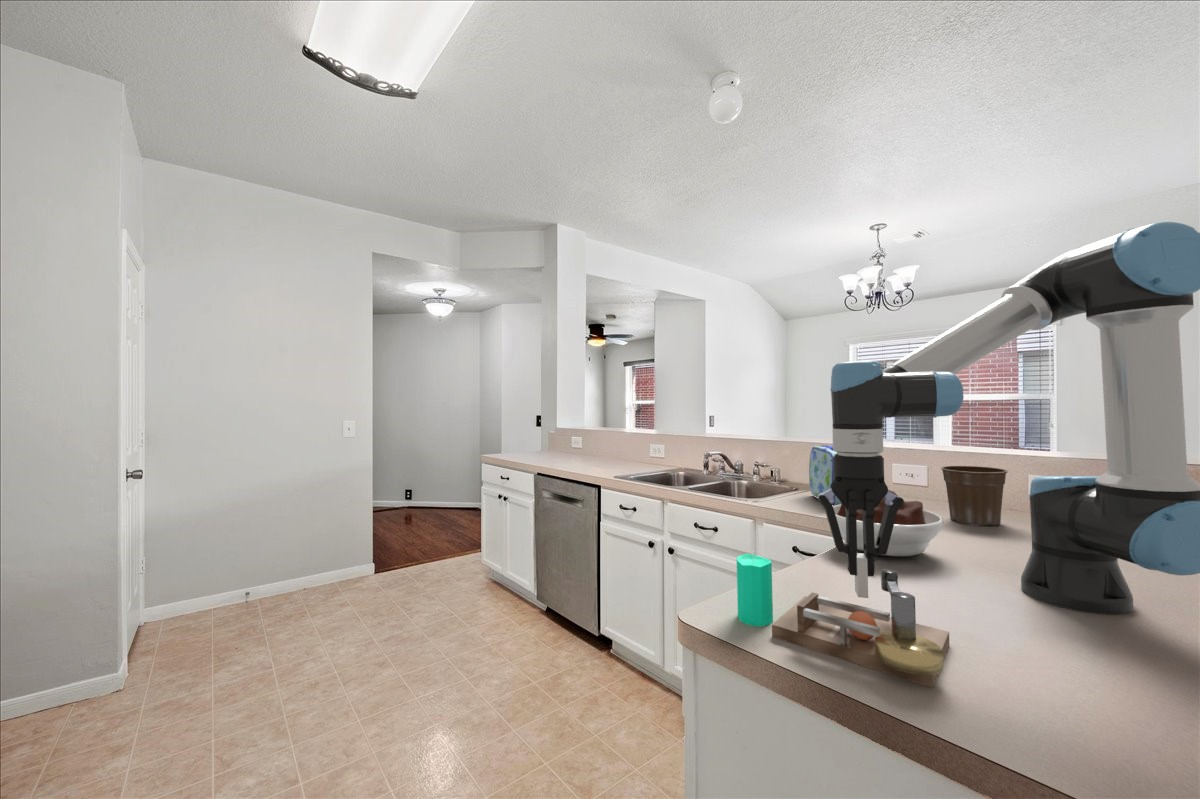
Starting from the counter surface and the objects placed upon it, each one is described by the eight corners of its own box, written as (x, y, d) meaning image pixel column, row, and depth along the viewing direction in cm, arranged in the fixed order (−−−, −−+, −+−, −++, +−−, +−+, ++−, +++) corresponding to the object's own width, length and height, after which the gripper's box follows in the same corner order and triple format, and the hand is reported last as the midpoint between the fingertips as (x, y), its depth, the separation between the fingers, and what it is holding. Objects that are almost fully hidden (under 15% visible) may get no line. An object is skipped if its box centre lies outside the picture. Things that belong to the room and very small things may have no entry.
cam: (958, 628, 76) (957, 579, 76) (938, 682, 62) (936, 622, 62) (884, 610, 83) (882, 565, 83) (850, 655, 69) (849, 601, 69)
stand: (949, 644, 76) (948, 606, 76) (932, 687, 65) (931, 642, 65) (805, 606, 91) (804, 574, 91) (772, 636, 80) (771, 600, 80)
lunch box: (864, 509, 167) (862, 448, 167) (831, 509, 168) (830, 449, 168) (835, 495, 193) (833, 442, 193) (807, 495, 194) (805, 442, 194)
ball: (880, 637, 74) (879, 611, 74) (873, 647, 71) (872, 620, 71) (852, 629, 77) (851, 604, 77) (844, 639, 74) (843, 613, 74)
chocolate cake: (942, 575, 105) (940, 505, 105) (818, 555, 120) (816, 494, 120) (946, 546, 125) (944, 487, 125) (839, 532, 140) (838, 479, 140)
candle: (732, 612, 89) (731, 546, 89) (764, 610, 90) (762, 545, 90) (745, 627, 83) (743, 557, 83) (779, 625, 84) (777, 555, 84)
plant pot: (942, 513, 159) (941, 463, 159) (1006, 519, 150) (1005, 466, 150) (941, 523, 146) (940, 470, 146) (1011, 531, 137) (1010, 473, 137)
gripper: (818, 455, 80) (822, 599, 80) (909, 456, 76) (913, 607, 76) (813, 451, 87) (816, 582, 87) (895, 451, 83) (899, 589, 83)
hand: (861, 594), depth 81 cm, fingers closed
